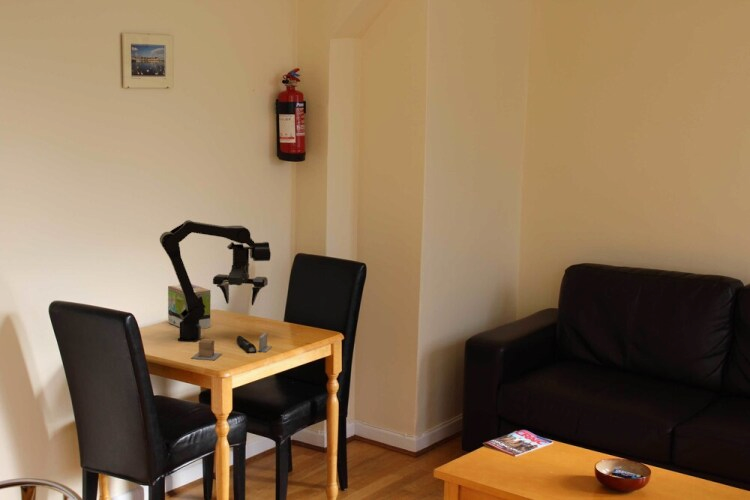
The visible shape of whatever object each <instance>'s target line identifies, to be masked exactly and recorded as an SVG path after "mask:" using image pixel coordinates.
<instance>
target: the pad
mask: <svg viewBox="0 0 750 500" xmlns="http://www.w3.org/2000/svg"><path fill="white" fill-rule="evenodd" d="M222 355H223V353H219V352H214V355H213V356H212V357H211V358H209V357H199V351H198V352H197V353H195V354H194V355H193V356H191V357H190V359H191V360H200V361H201V360H204V361H216V360H217V359H219V358H220V357H222Z"/></svg>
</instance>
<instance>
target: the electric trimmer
mask: <svg viewBox="0 0 750 500" xmlns="http://www.w3.org/2000/svg"><path fill="white" fill-rule="evenodd" d="M236 342H237V344H238V346H239V347H240V348H243V349H244V350H245V353H246V354H249V353H250V354H257V353H258V350H257V348H256V346H255V345H254V343H251V342H250V341H249V340H248V339H246V338H244V337H243V336H242V335H238V336H237V337H236Z"/></svg>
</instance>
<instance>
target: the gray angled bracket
mask: <svg viewBox="0 0 750 500" xmlns="http://www.w3.org/2000/svg"><path fill="white" fill-rule="evenodd" d="M258 338H259V339H258V350H257V353H268V351H270V350H271V349H272V345H271V346H270V345H268V332H264V333H262V334H261V335H260V336H259V337H258Z"/></svg>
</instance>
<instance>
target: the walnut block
mask: <svg viewBox="0 0 750 500" xmlns="http://www.w3.org/2000/svg"><path fill="white" fill-rule="evenodd" d="M198 352H199V357H209V358H211V357H212V356H213V355H214V353H215V339H208V338H207V339H205V338H204V339H203V338H202V339H201V340H199V341H198Z"/></svg>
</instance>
